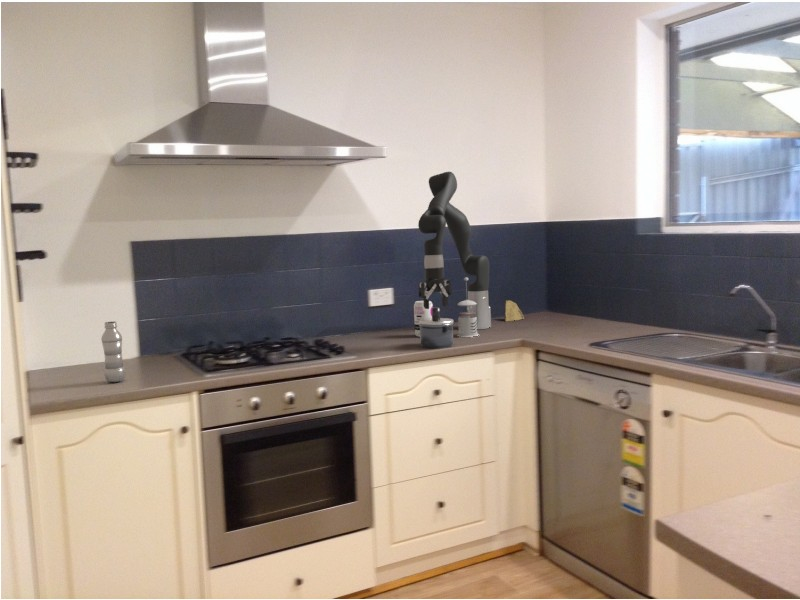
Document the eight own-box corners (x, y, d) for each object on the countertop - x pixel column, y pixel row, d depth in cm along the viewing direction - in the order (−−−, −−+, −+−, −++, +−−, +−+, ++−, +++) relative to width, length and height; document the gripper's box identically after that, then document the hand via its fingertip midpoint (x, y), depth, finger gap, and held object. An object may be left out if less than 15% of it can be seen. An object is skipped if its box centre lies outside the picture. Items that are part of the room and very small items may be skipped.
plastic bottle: (107, 385, 219) (102, 324, 217) (103, 381, 225) (97, 322, 223) (128, 381, 223) (123, 322, 221) (123, 378, 229) (118, 320, 227)
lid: (440, 319, 275) (440, 305, 275) (460, 322, 264) (460, 307, 263) (412, 323, 268) (412, 308, 268) (431, 326, 257) (431, 310, 256)
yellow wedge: (523, 313, 335) (503, 311, 336) (526, 301, 329) (505, 298, 330) (523, 328, 327) (503, 326, 328) (526, 316, 321) (505, 314, 322)
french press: (454, 337, 285) (452, 278, 282) (460, 333, 296) (458, 276, 293) (477, 337, 282) (475, 278, 279) (482, 333, 293) (480, 275, 290)
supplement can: (434, 334, 296) (433, 300, 295) (433, 337, 288) (432, 302, 286) (415, 334, 297) (414, 300, 295) (414, 337, 289) (413, 302, 287)
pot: (438, 340, 278) (437, 319, 277) (464, 346, 263) (463, 323, 262) (410, 344, 271) (409, 322, 270) (435, 350, 256) (434, 327, 255)
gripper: (443, 265, 270) (445, 305, 272) (413, 267, 263) (415, 308, 265) (454, 265, 264) (456, 306, 266) (424, 268, 257) (426, 310, 258)
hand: (435, 307), depth 265 cm, fingers open, 8 cm apart
